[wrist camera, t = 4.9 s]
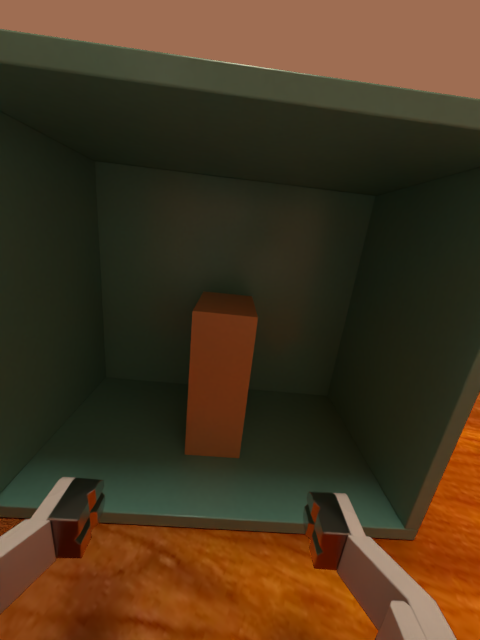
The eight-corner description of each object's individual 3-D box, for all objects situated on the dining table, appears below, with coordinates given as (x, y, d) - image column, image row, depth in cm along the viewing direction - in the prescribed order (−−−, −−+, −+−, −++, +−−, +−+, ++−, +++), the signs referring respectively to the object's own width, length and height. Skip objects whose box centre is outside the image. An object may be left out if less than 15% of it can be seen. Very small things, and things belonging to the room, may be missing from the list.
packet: (184, 454, 21) (192, 310, 17) (195, 405, 27) (203, 291, 23) (239, 458, 21) (258, 317, 18) (238, 408, 27) (252, 296, 24)
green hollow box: (414, 540, 18) (602, 115, 10) (-24, 516, 16) (-163, 3, 9) (331, 398, 33) (383, 187, 26) (101, 380, 31) (88, 149, 24)
